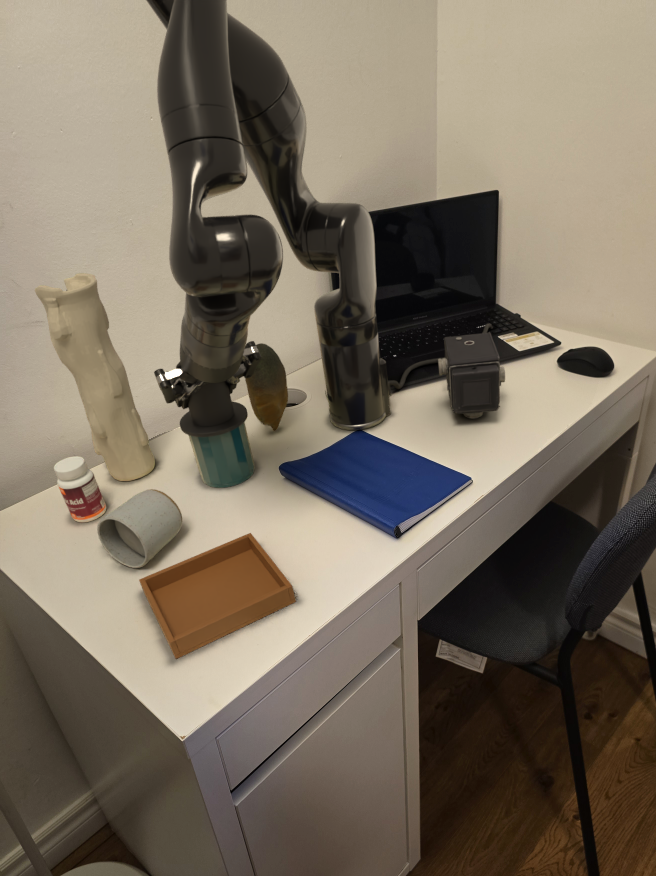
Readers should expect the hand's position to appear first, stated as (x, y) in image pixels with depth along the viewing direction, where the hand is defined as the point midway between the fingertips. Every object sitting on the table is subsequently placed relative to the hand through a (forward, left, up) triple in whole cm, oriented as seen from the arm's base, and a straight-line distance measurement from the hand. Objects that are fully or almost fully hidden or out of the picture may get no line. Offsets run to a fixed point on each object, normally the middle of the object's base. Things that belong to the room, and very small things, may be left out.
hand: (204, 395), depth 93 cm
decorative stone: (-11, -5, -12) cm, 18 cm away
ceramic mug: (+16, +12, -12) cm, 23 cm away
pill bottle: (+20, -1, -12) cm, 24 cm away
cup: (0, +2, -12) cm, 12 cm away
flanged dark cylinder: (0, +2, -5) cm, 5 cm away
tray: (+11, +27, -12) cm, 32 cm away
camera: (-40, +10, -12) cm, 43 cm away
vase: (+12, -9, -12) cm, 20 cm away
